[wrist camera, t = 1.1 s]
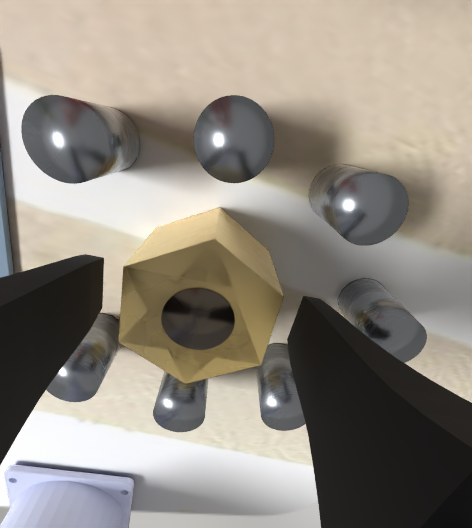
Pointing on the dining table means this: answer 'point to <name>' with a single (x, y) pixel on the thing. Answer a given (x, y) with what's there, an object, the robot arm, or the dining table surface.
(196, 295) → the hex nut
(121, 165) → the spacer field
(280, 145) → the dining table surface
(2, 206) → the mat
